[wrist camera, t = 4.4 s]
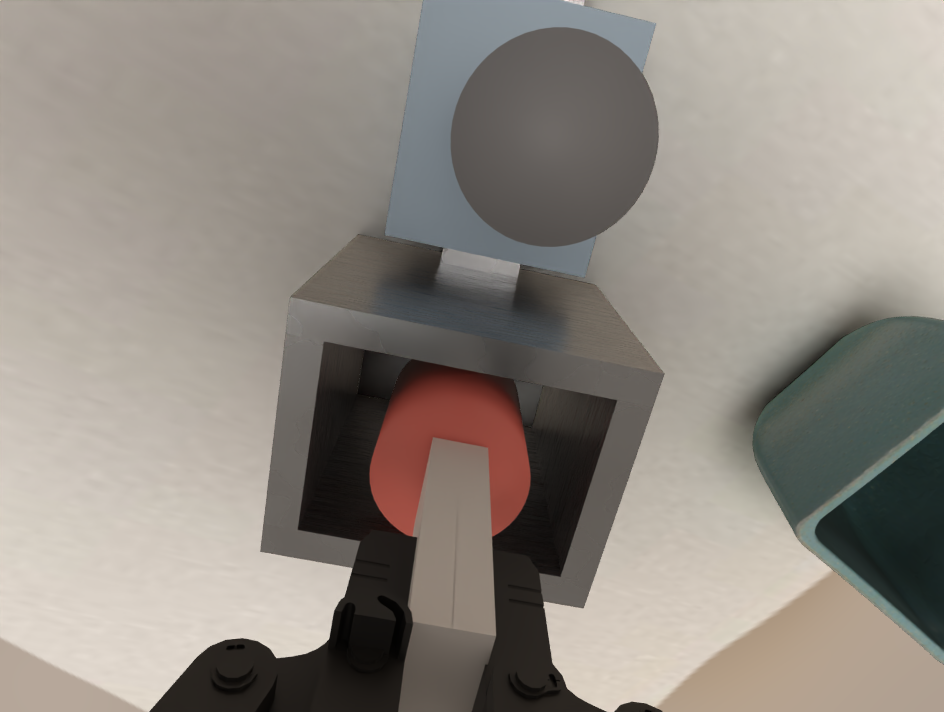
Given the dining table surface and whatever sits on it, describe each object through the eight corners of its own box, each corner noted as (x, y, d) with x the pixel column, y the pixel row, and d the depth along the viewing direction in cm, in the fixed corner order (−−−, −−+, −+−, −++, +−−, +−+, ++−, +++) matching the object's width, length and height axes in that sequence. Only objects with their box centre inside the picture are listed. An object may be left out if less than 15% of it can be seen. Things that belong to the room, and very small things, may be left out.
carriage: (436, -6, 22) (369, -238, 8) (625, 40, 23) (877, -103, 8) (398, 218, 25) (298, 338, 11) (568, 255, 25) (686, 416, 11)
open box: (358, 234, 25) (289, 297, 16) (600, 286, 26) (671, 375, 17) (332, 409, 28) (260, 551, 19) (551, 451, 29) (589, 609, 19)
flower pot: (695, 413, 28) (790, 536, 20) (854, 266, 26) (1040, 335, 17) (819, 521, 30) (953, 675, 22) (977, 394, 28) (1198, 511, 19)
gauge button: (404, 332, 21) (383, 391, 16) (531, 358, 21) (548, 423, 16) (382, 446, 22) (358, 531, 18) (502, 469, 23) (509, 558, 18)
